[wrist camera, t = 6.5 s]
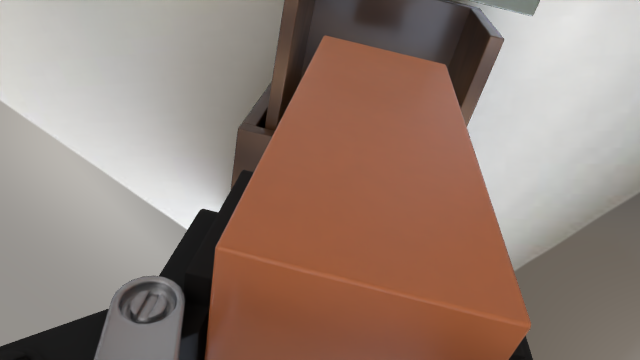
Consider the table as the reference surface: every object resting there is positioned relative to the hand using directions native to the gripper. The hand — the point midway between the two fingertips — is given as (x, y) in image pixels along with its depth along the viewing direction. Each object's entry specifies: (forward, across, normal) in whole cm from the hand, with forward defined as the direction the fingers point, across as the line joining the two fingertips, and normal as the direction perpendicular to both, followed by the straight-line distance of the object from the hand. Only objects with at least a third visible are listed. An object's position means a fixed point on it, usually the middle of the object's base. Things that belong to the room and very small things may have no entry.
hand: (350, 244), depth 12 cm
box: (+9, 0, 0) cm, 9 cm away
